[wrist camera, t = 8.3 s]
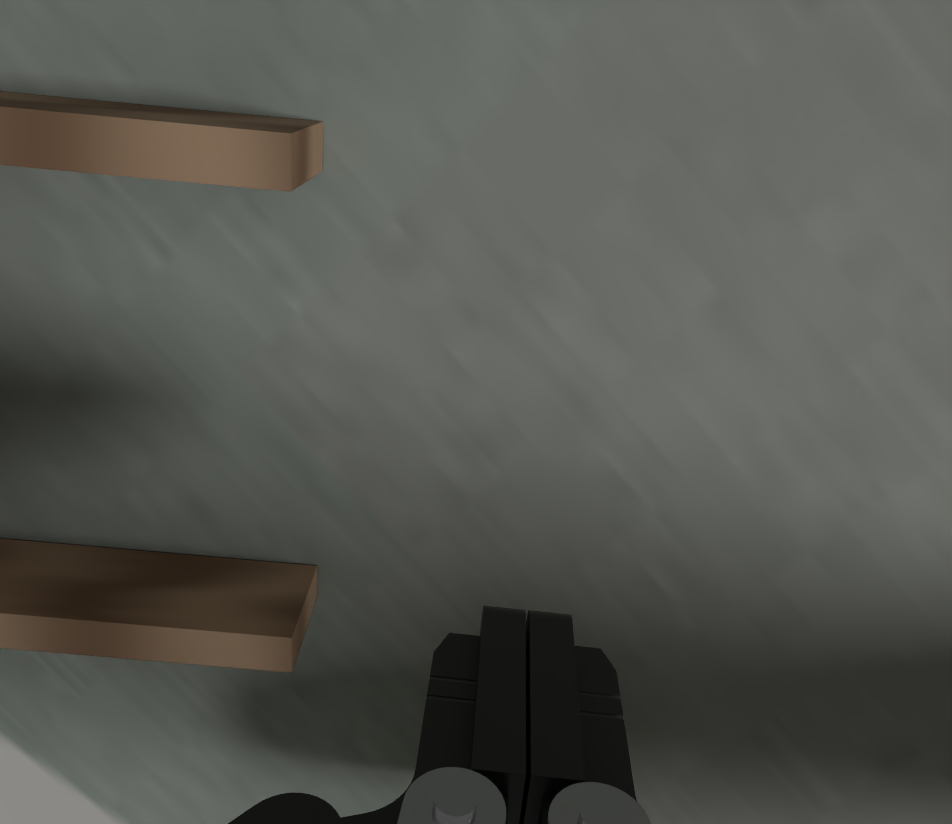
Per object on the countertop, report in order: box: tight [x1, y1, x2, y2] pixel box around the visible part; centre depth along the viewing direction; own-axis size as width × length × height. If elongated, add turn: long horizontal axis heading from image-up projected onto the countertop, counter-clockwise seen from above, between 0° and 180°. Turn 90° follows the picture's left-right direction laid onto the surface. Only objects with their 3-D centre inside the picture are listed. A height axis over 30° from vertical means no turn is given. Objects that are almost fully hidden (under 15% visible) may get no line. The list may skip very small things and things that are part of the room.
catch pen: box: [0, 91, 323, 673], centre depth 21 cm, size 12×14×5 cm
